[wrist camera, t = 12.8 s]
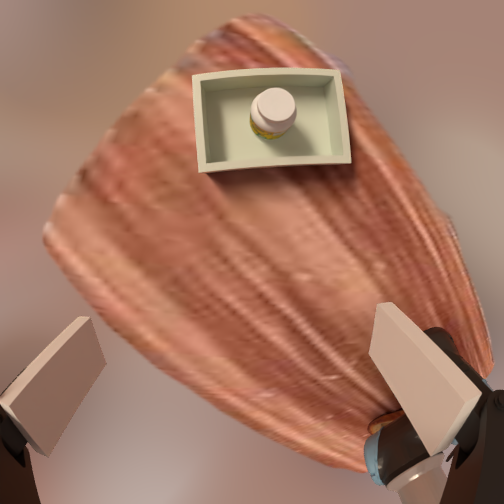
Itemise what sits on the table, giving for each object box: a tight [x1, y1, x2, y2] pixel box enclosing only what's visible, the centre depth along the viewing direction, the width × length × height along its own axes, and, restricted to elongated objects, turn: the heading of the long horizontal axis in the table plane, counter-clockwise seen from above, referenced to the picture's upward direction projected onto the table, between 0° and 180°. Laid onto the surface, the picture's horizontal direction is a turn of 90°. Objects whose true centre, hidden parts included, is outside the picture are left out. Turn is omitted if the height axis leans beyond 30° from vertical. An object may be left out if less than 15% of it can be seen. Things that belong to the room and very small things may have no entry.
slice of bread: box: [368, 410, 405, 435], centre depth 53 cm, size 18×18×4 cm
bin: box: [192, 68, 351, 173], centre depth 32 cm, size 13×19×6 cm
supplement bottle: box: [249, 88, 297, 140], centre depth 30 cm, size 5×5×10 cm
